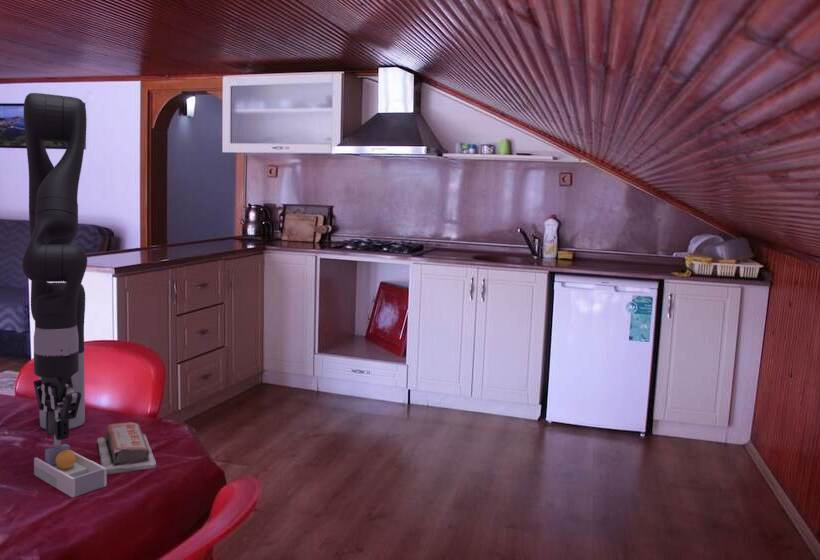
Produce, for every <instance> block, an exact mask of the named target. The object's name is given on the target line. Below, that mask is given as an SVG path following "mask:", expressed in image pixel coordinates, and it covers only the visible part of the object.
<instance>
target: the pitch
mask: <svg viewBox="0 0 820 560" xmlns="http://www.w3.org/2000/svg"><path fill="white" fill-rule="evenodd" d="M70 451H72V452H74V454H75V455H76V461H75V464H74V465H73V466H72V467H70V468H68V469H61V468H59V467H58V466H57V465H56V464H55V465H52V466H51V465H49V464H48V463H46V462H45V460H42V459H41V458H38V457H33V472H34V473H33V474H34V476H35V477H37V478H38V479H41V480H42V481H43V482H44V483H47V484H48V485H50V486H51V487H54V488H55V489H57V470H61V471H63V472H64V473H66V474H68V475H70V476H72V477H73V478H74V477H77V476H80V475H83V474H86V473H88V461H89V460H90V459H88V458H86V457H84V456H83V455H81V454H79V453H77V452H75V451H73V450H71V449H70Z"/></svg>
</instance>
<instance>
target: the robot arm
mask: <svg viewBox="0 0 820 560" xmlns="http://www.w3.org/2000/svg"><path fill="white" fill-rule="evenodd" d="M23 102H24V103H23V123H24V124H23V125H24V133H25V134H24V135H25V144H26V145H25V146H26V154H27V164H28V222H29V223H28V224H29V234H30V240H29V242H28V245H27V247H26V249H25V251H24V254H23V257H22V263H21V265H22V266H21V267H22V272H23V273H24V275H25V276H26V278H27V279H28V280H30V282H31V284H30V285H31V286H30V311H31V317H32V319H33V321H34V333H33V373H34V375H35V376H37V377H39V379H37V380H33V388H34V391H35V397H36V402H37V405H38V410H39V424H40V425H39V427H40V428H41V429H43V430H45V434H46V435H48V436H54V434H49V433H48V412H49V411H51V410H55V419H56V421H55V438H56V439H57V440H61V441H63V440H65V439H68V438H69V436H70V430H72V429H75V428H77V427H80V426H82V425H84V424H85V421H86V417H85V414H86V413H85V412H86V411H85V409H86V408H85V407H86V406H85V405H86V404H85V403H86V402H85V401H86V399H85V397H86V395H85V394H86V392H85V391H86V390H85V389H86V388H85V385H86V384H85V382H86V380H85V379H86V378H85V376H86V375H85V372H86V371H85V318H86V317H85V315H86V314H85V312H86V291H85V287H84V285H83V284H82V283H83V279H84V277H85V273H86V270H87V266H88V256H87V252H85V249H83V247H81V246H80V245H78V244H72V242H73V241H74V239H75V238H76V236H77V234H78V230H79V204H78V194H79V193H78V192H79V184H80V178H81V173H82V167H83V159H84V152H85V143H86V138H87V137H86V136H87V109H86V106H85V103H84V101H83V100H82V99H81V98H77V97H75V96H74V97H73V96H67V95H58V94H50V93H49V94H48V93H41V92H40V93H39V92H30V93H28V94H27V95H25V98H24V101H23ZM44 141H45V142H54V143H64V144H65V143H66V144H67V146H66V149H65V151H64V153H63V155H62V157H61V158H60V160H59V161H58V162H57V164H55V165H53V162H52V161H51V159H50V156H49V154H48V152H47V149H46V146H45V142H44ZM60 409H62V411H61V414H60Z"/></svg>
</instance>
